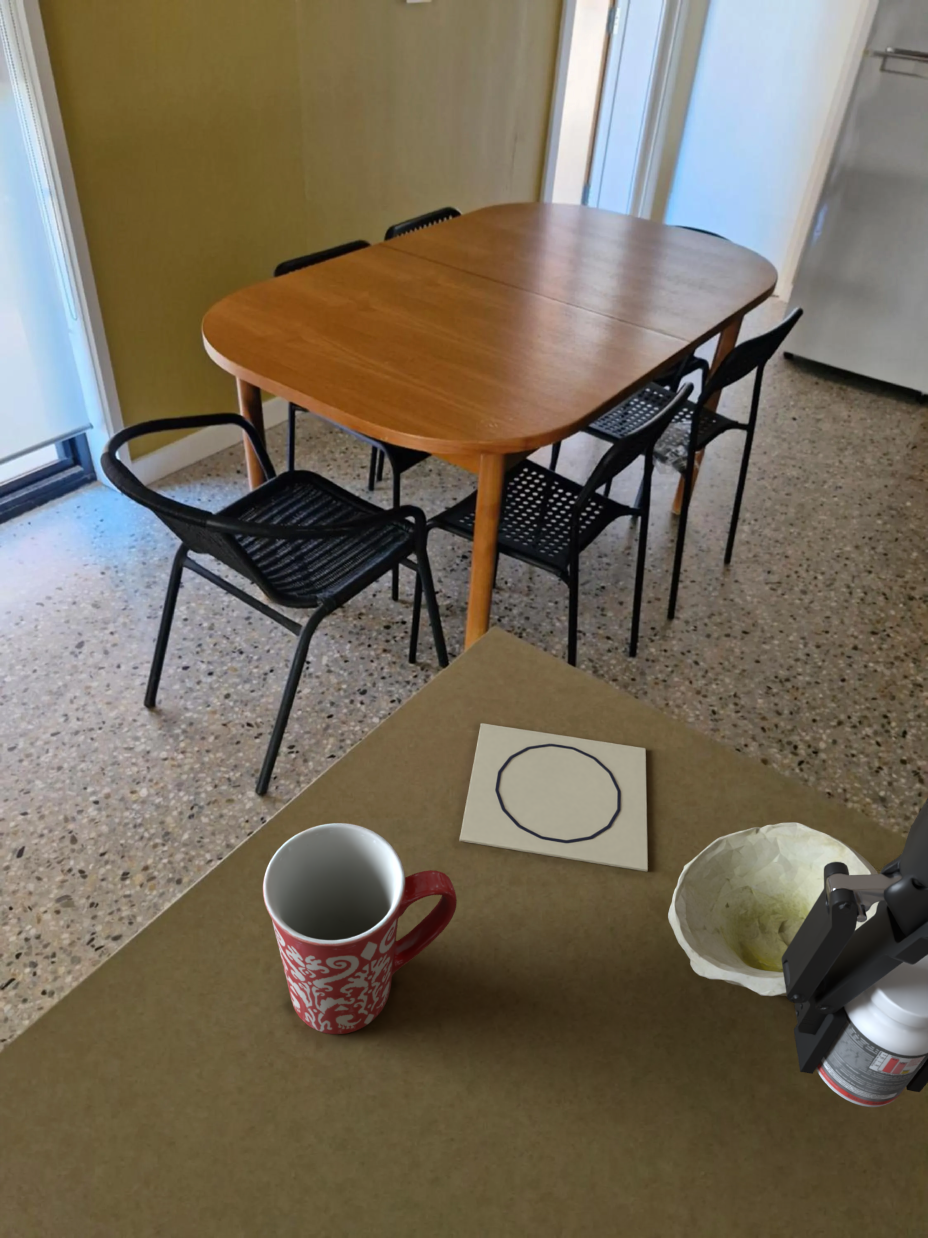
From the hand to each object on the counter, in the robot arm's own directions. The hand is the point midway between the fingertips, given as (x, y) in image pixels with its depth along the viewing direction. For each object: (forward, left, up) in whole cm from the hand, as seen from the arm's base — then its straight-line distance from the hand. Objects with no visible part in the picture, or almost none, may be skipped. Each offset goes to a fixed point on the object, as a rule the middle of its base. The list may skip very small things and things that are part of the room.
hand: (855, 1060), depth 56 cm
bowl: (+11, +3, -8) cm, 14 cm away
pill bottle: (0, 0, -1) cm, 1 cm away
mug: (+3, +32, -8) cm, 33 cm away
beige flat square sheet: (+24, +19, -8) cm, 32 cm away
